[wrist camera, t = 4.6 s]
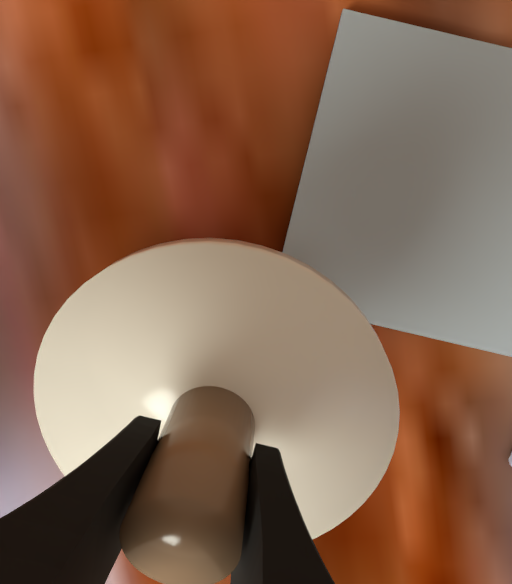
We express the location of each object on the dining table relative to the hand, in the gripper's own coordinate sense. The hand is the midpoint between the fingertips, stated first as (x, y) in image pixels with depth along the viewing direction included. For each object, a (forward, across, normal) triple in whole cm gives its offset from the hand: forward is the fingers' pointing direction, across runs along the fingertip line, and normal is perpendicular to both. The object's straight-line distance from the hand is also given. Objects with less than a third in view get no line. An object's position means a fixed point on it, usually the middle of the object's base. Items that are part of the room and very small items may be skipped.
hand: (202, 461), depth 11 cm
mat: (+10, -7, -8) cm, 14 cm away
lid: (+2, 0, 0) cm, 2 cm away
